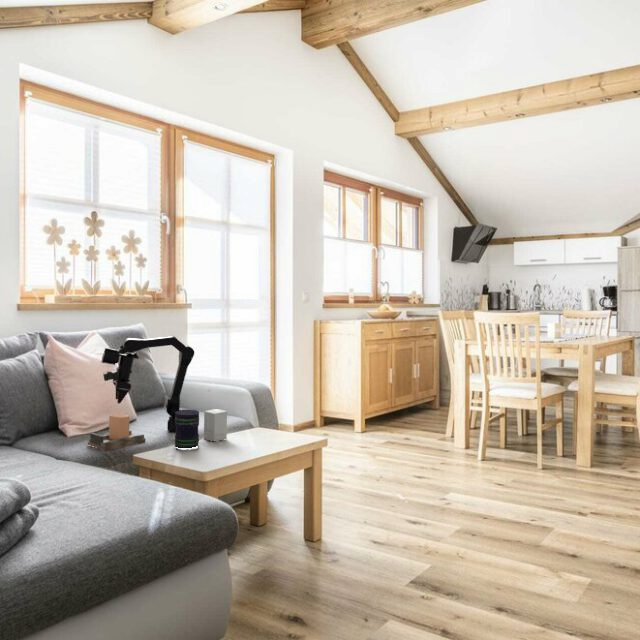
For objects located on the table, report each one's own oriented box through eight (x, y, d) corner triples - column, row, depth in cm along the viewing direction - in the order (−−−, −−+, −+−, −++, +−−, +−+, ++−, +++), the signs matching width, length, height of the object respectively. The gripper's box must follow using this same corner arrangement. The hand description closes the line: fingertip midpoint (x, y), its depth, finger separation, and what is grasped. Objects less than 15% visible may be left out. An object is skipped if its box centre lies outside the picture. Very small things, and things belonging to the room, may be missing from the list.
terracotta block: (119, 436, 278) (119, 413, 277) (129, 439, 273) (129, 416, 273) (109, 438, 274) (109, 415, 273) (118, 441, 270) (119, 418, 269)
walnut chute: (128, 436, 285) (128, 424, 284) (145, 441, 277) (145, 429, 277) (87, 445, 269) (87, 432, 269) (104, 451, 262) (104, 437, 261)
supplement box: (227, 439, 285) (227, 411, 284) (213, 442, 280) (214, 413, 279) (216, 436, 290) (217, 408, 289) (203, 439, 285) (203, 410, 284)
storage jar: (169, 448, 268) (170, 413, 267) (183, 443, 277) (183, 408, 276) (190, 451, 265) (191, 415, 263) (203, 446, 274) (204, 411, 272)
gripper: (105, 360, 292) (97, 394, 292) (108, 366, 275) (100, 402, 275) (130, 364, 296) (122, 398, 296) (134, 371, 279) (127, 406, 279)
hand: (117, 401), depth 286 cm, fingers open, 9 cm apart
